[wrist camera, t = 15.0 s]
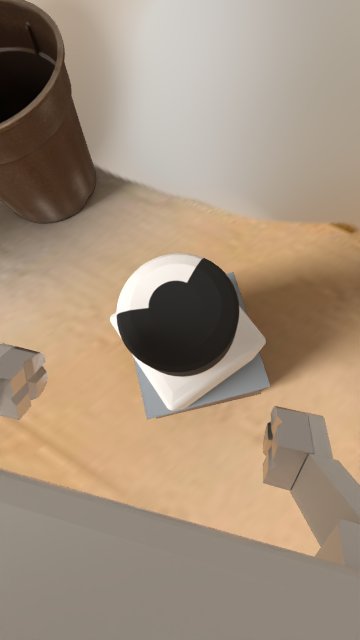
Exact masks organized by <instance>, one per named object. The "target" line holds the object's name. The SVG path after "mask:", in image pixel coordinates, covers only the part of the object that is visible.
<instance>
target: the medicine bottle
mask: <svg viewBox="0 0 360 640" xmlns="http://www.w3.org/2000/svg"><path fill="white" fill-rule="evenodd" d="M110 321H111V323H112V325H113V326H114V328H115V330H116V331H117V333H118V334H119V336H120V337H121V339H122V340H123V342H124V344H125V346H126V347H127V348H128V350H129V351H130V352H131V354H132V355H133V357H134V358H135V360H136V361H137V363H138V364H139V366H140V367H141V369H142V371H143V372H144V374H145V375H146V377H147V378H148V380H149V381H150V383H151V384H152V386H153V387H154V389H155V390H156V392H157V393H158V395H159V396H160V398H161V399H162V401H163V402H164V404H165V405H166V407H167V408H168V409H169V410H172V411H174V410H179V409H184V408H186V407H188V406H189V405H191V404H192V403H193V402H195V401H196V400H198V399H199V398H200V397H202V396H203V395H204V394H206V393H207V392H209V391H210V390H211V389H213V388H214V387H215V386H217V385H218V384H220V383H221V382H222V381H224V380H225V379H226V378H228V377H229V376H231V375H232V374H233V373H235V372H236V371H237V370H239V369H240V368H242V367H243V366H244V365H246V364H247V363H248V362H250V361H251V360H253V358H254V357H255V356H256V355H257V353H258V352H259V351H260V350H261V348H262V347H263V346H264V345H265V343H266V340H265V337H264V336H263V335H262V334H261V332H260V331H259V330H258V329H257V327H256V326H255V325H254V324H253V322H252V321H251V320H250V319H249V317H248V316H247V315H246V314H245V312H244V311H243V310H242V309H241V307H240V306H239V300H238V296H237V293H236V290H235V288H234V285H233V284H232V282H231V280H230V279H229V277H228V276H227V275H226V274H225V272H224V271H223V270H222V269H220V268H219V267H218V266H217V265H215V264H214V263H213V262H211V261H209V260H207V259H205V258H203V257H200V256H197V255H192V254H186V253H174V254H167V255H163V256H160V257H157V258H154V259H152V260H150V261H148V262H147V263H145V264H144V265H142V266H141V267H140V268H138V269H137V270H136V271H135V272H134V273H133V274H132V275H131V276H130V278H129V279H128V281H127V282H126V283H125V285H124V287H123V289H122V291H121V294H120V297H119V300H118V304H117V312H115V313H114V314H113V315H112V316H111V317H110Z"/></svg>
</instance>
